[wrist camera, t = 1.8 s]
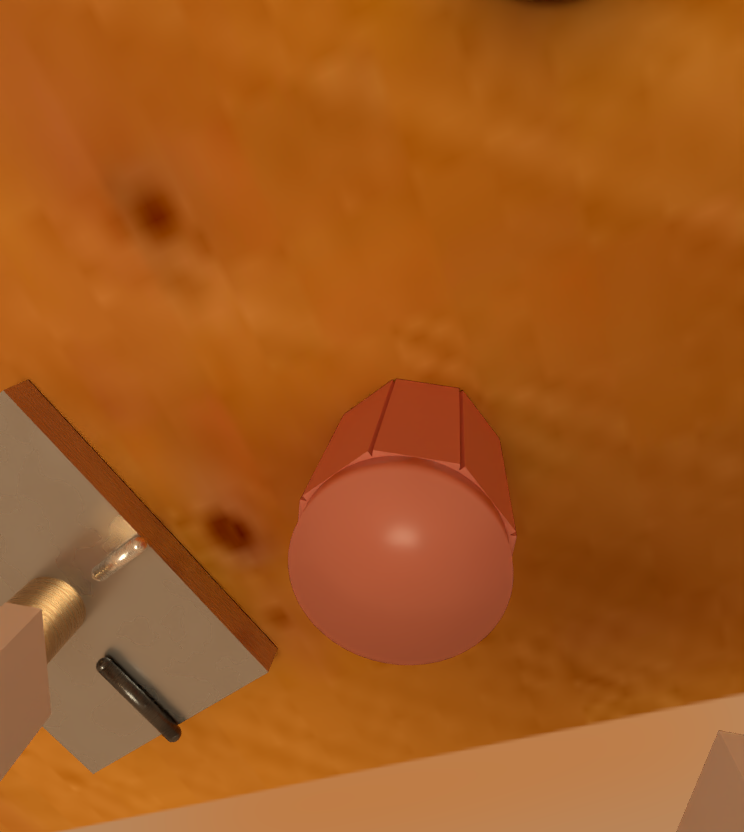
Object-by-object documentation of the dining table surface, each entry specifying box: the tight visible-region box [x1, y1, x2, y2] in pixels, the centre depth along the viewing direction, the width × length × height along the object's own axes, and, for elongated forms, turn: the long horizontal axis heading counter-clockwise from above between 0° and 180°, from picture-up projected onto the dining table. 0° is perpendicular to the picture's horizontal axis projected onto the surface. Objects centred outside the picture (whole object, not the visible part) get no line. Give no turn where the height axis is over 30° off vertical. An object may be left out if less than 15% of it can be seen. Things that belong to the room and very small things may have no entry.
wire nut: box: [288, 379, 517, 665], centre depth 21 cm, size 6×6×8 cm
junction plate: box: [0, 380, 277, 774], centre depth 24 cm, size 16×12×10 cm
